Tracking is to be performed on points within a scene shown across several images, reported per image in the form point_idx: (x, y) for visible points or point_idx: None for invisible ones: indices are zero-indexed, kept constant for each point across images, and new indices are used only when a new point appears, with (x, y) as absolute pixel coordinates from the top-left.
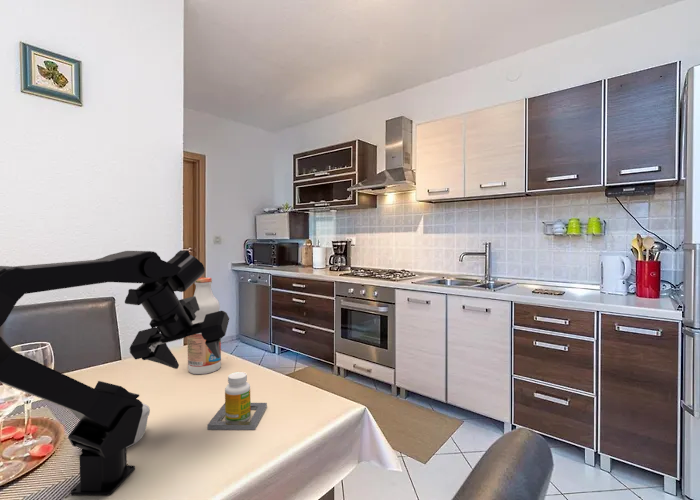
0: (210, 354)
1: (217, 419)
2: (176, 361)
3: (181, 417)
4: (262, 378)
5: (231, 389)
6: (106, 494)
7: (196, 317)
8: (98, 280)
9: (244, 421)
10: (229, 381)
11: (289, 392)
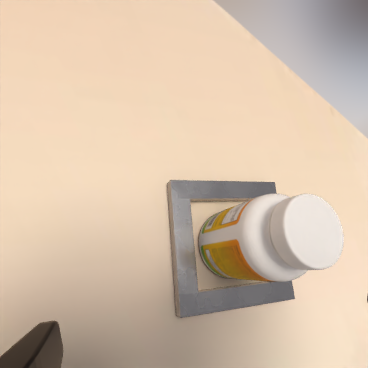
0: None
1: (195, 283)
2: (42, 362)
3: (58, 254)
4: (196, 26)
5: (284, 274)
6: None
7: None
8: None
9: (265, 283)
10: (291, 263)
11: (285, 113)
